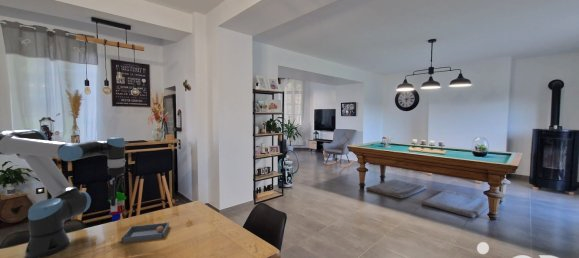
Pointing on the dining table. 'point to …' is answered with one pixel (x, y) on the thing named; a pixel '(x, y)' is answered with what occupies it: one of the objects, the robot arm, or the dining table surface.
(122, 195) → the toy
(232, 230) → the dining table surface
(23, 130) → the robot arm
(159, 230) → the ball
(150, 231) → the tray
